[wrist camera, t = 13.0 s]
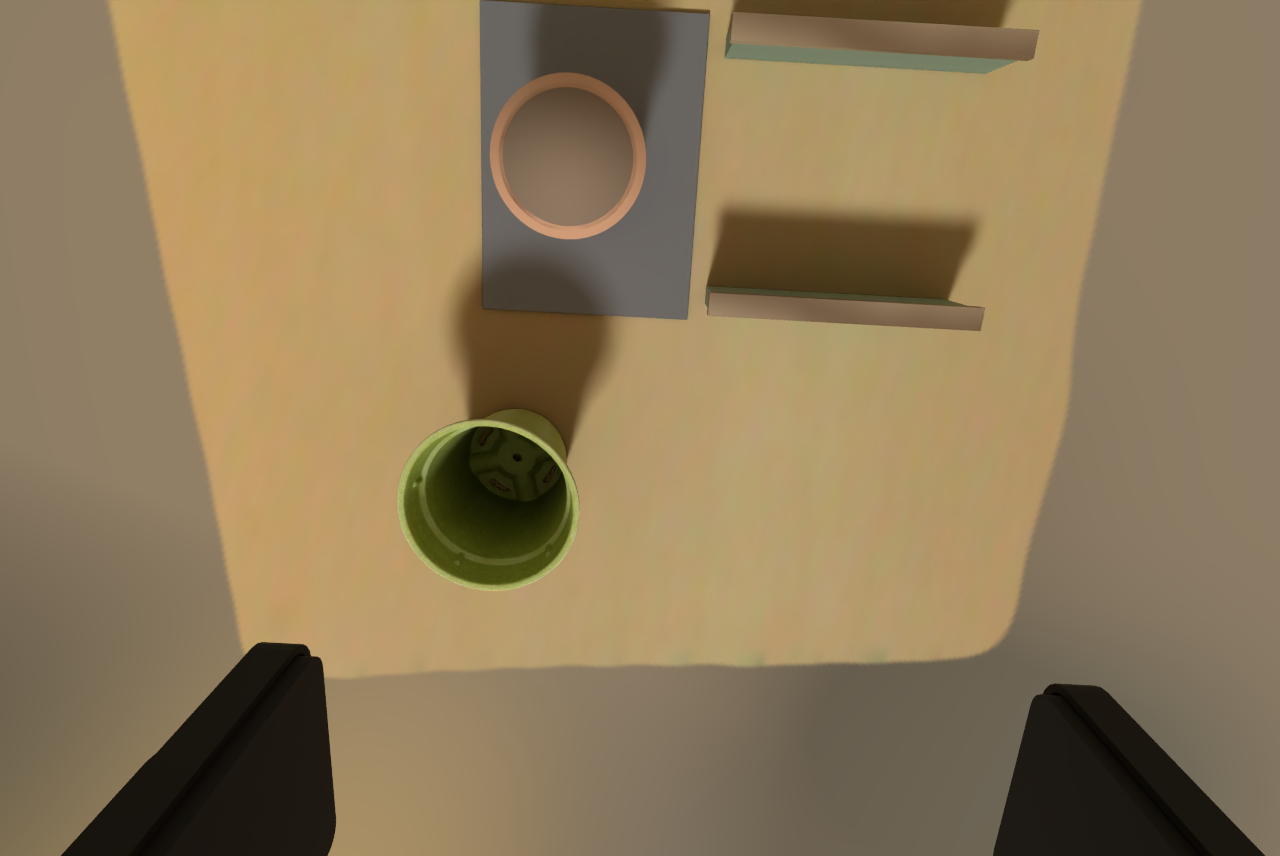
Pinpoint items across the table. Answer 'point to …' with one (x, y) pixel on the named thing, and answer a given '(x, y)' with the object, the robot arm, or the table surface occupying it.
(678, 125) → the mat
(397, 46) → the table surface
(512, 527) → the plant pot
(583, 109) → the seedling pot
